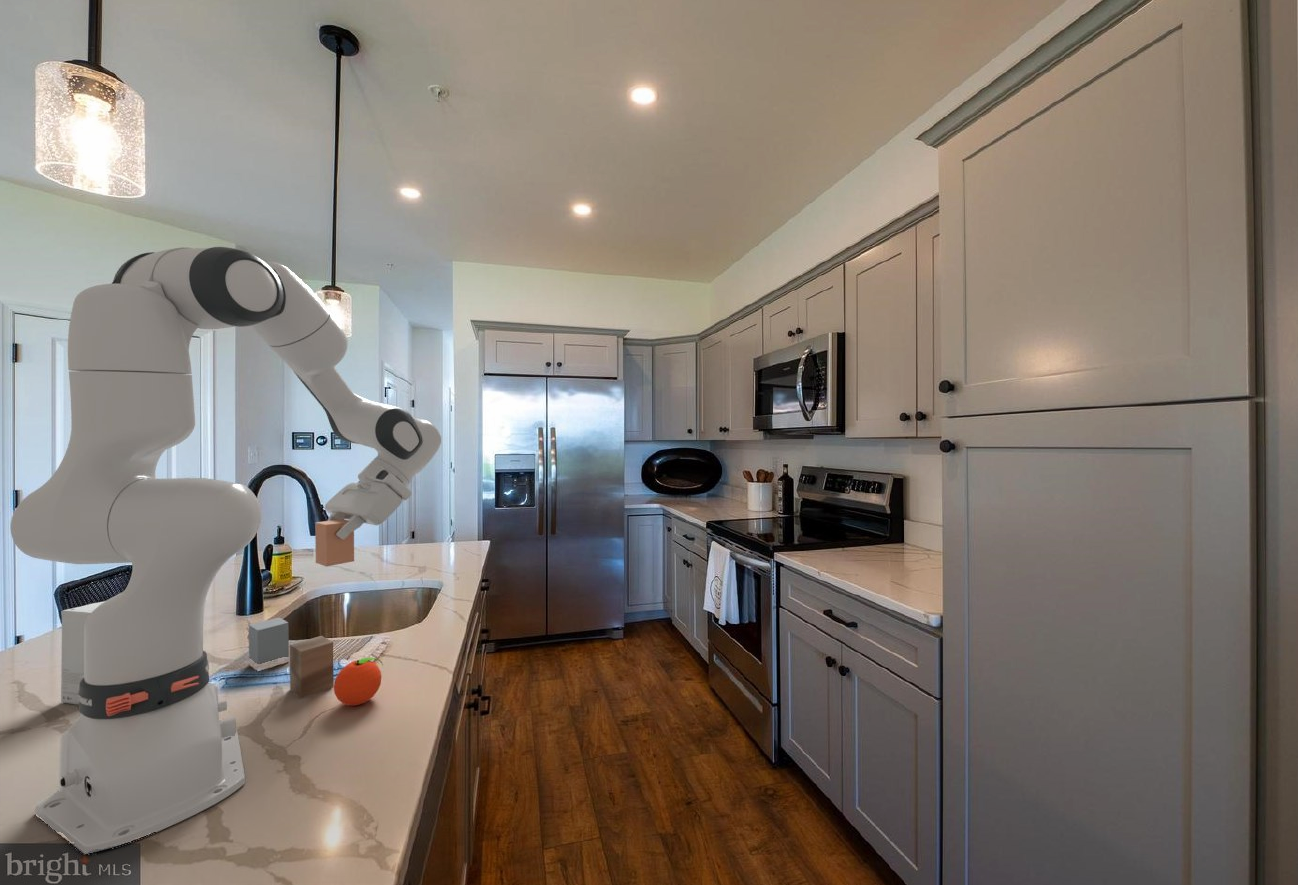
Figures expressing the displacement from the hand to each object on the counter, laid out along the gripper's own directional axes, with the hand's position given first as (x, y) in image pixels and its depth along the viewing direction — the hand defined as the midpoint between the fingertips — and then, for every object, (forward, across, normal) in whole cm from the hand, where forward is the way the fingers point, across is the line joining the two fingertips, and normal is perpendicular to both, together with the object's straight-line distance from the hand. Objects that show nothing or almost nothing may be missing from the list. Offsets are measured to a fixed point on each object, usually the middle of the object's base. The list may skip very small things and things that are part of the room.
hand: (331, 535), depth 98 cm
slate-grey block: (+23, -10, +13) cm, 28 cm away
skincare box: (+38, -20, -2) cm, 43 cm away
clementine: (+20, +20, +16) cm, 33 cm away
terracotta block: (+3, 0, +4) cm, 5 cm away
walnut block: (+22, +8, +13) cm, 27 cm away
